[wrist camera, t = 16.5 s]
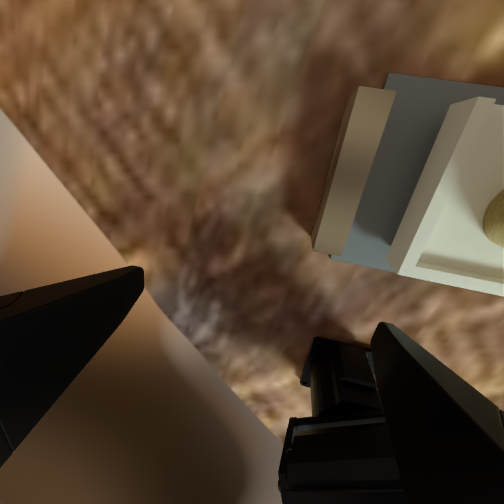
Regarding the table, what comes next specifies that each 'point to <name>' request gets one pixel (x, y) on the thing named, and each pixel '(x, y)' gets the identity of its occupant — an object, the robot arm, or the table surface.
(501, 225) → the solid brass cylinder
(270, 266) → the table surface
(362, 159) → the end stop
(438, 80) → the mat
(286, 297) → the table surface
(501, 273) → the shallow square tray
